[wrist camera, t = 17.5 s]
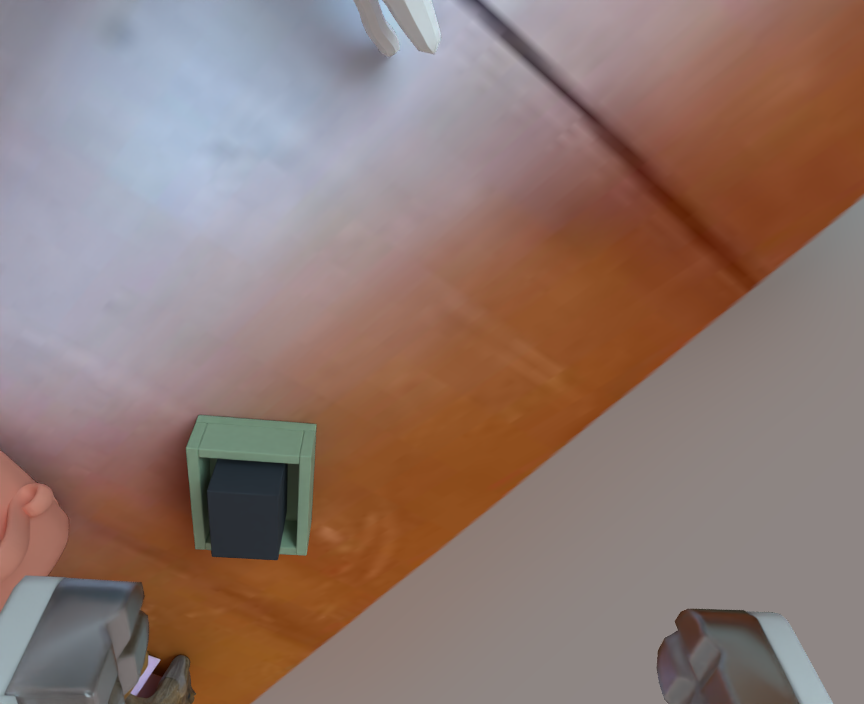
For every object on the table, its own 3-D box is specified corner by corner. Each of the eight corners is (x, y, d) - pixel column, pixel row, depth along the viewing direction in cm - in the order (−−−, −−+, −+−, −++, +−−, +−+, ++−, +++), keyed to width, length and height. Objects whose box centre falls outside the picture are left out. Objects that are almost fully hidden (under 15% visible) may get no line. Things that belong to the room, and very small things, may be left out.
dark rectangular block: (225, 507, 38) (211, 557, 35) (222, 442, 35) (206, 491, 33) (287, 511, 39) (278, 561, 36) (288, 447, 36) (278, 495, 33)
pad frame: (205, 514, 39) (194, 549, 37) (198, 414, 35) (185, 447, 33) (311, 520, 40) (306, 555, 38) (316, 423, 36) (311, 457, 34)
